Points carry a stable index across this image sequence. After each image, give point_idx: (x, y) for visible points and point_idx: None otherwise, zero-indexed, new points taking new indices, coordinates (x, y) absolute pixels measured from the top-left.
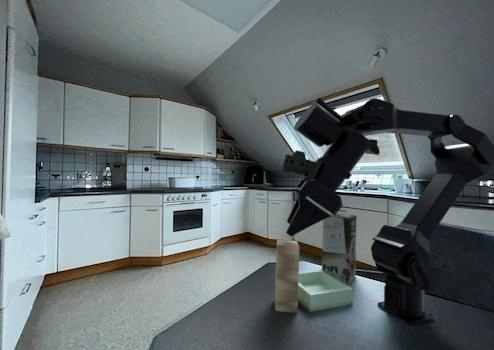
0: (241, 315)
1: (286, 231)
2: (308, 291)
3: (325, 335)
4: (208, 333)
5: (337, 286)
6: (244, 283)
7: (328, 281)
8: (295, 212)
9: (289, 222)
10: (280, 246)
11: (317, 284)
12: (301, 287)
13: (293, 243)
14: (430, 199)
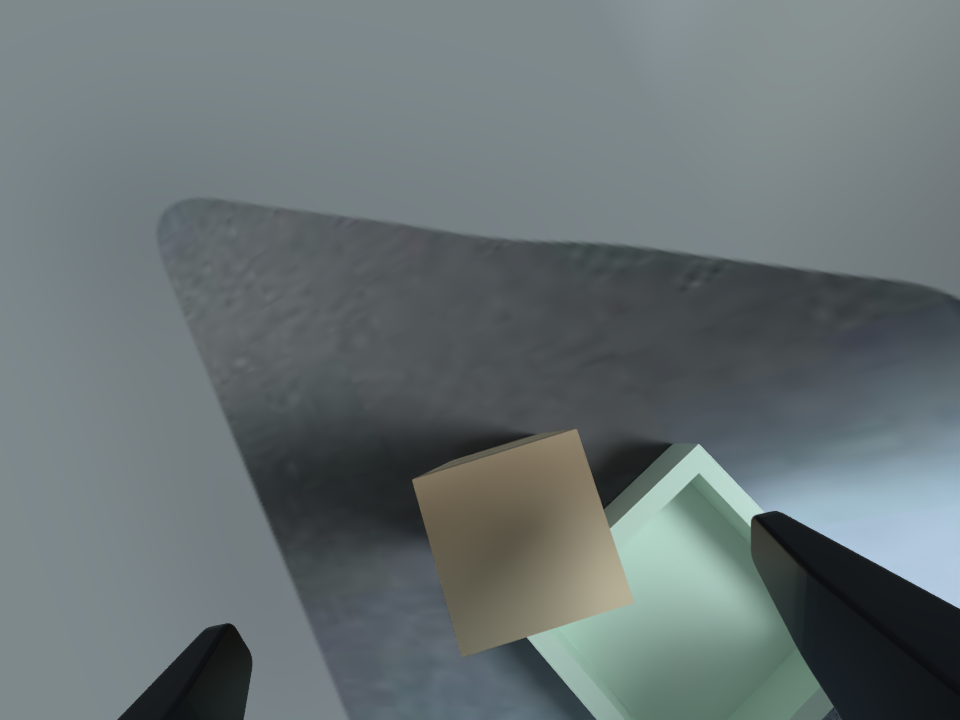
0: (366, 352)
1: (219, 626)
2: None
3: (382, 669)
4: (234, 299)
5: None
6: (611, 259)
7: (789, 686)
8: (883, 683)
9: (760, 546)
10: (420, 501)
11: (776, 611)
12: None
13: (531, 591)
14: None
